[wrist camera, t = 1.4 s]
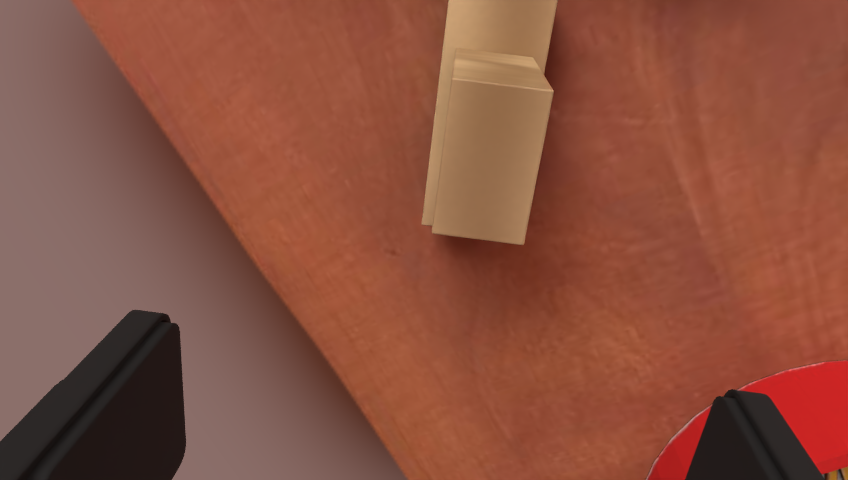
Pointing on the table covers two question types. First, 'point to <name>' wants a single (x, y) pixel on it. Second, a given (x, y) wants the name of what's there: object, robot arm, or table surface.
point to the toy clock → (801, 408)
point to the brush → (489, 119)
